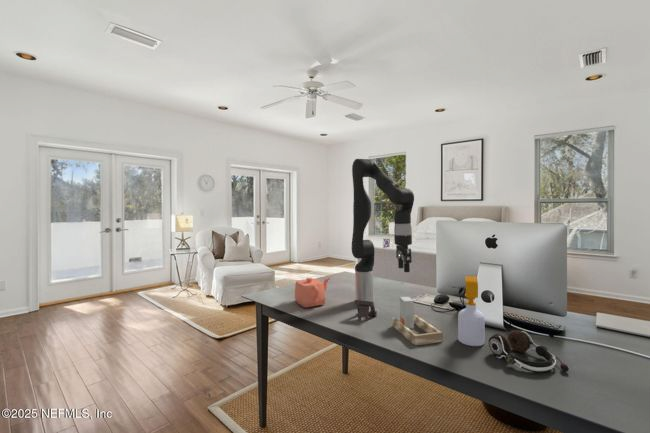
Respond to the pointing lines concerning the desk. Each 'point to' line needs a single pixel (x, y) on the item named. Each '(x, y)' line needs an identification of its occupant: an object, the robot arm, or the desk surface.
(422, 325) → the wooden tray
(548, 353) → the headset
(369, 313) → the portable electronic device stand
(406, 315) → the skincare box
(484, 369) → the desk surface
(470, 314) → the soap bottle
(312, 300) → the teapot
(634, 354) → the desk surface
